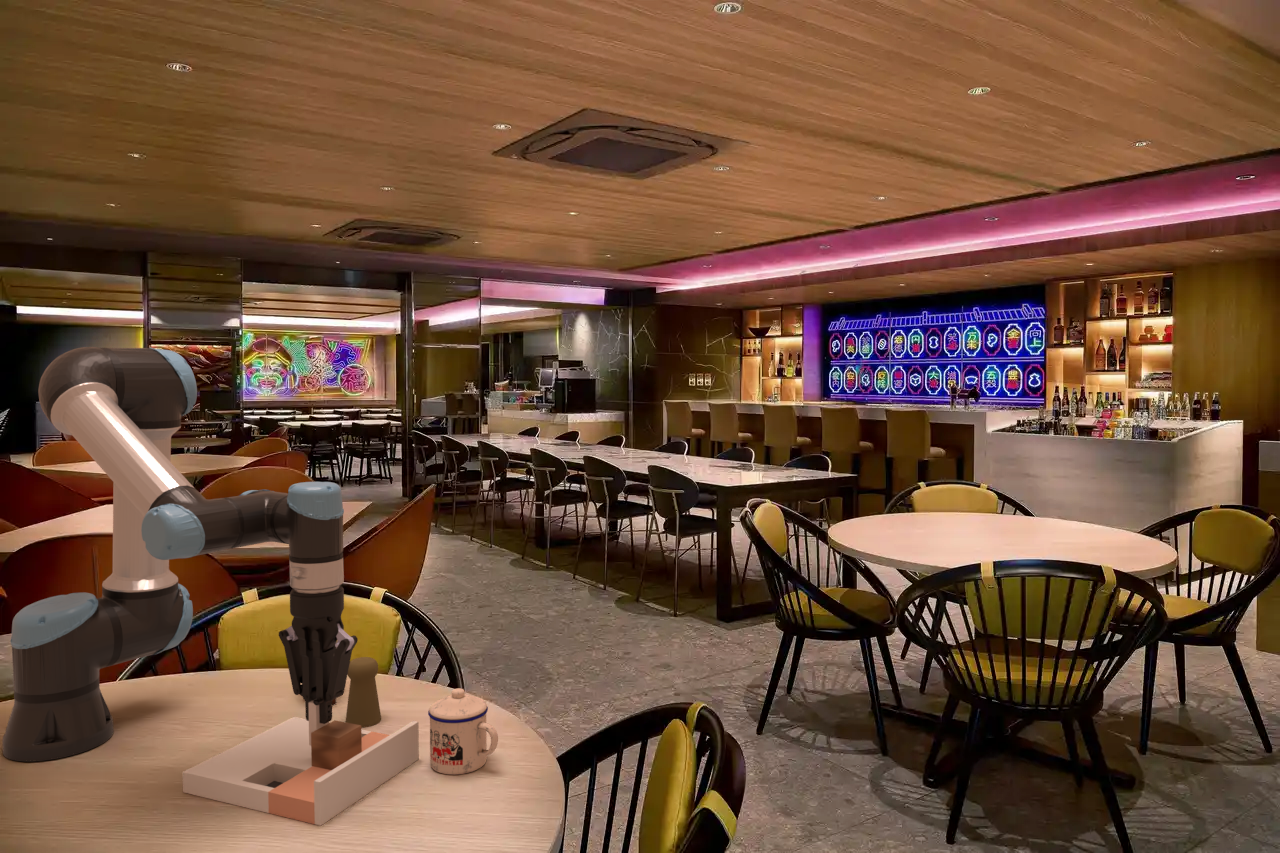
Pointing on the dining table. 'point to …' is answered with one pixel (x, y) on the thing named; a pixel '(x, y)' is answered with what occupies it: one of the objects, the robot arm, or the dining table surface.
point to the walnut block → (335, 744)
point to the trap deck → (300, 772)
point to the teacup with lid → (459, 733)
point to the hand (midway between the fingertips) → (319, 742)
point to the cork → (363, 693)
